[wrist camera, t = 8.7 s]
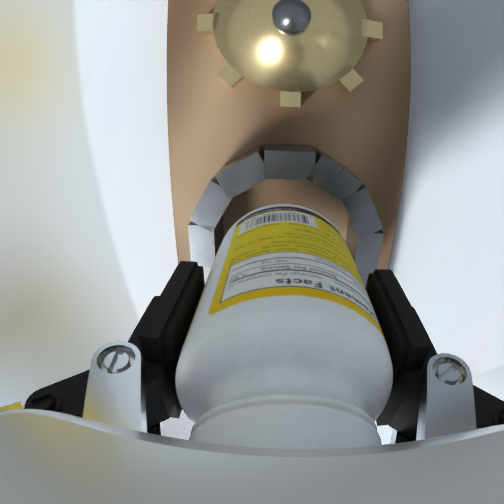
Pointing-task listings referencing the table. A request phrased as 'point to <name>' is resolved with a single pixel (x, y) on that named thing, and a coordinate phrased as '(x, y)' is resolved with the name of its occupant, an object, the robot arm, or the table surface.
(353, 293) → the supplement bottle
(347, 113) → the gear board
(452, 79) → the table surface
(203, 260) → the socket ring
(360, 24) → the brass gear
